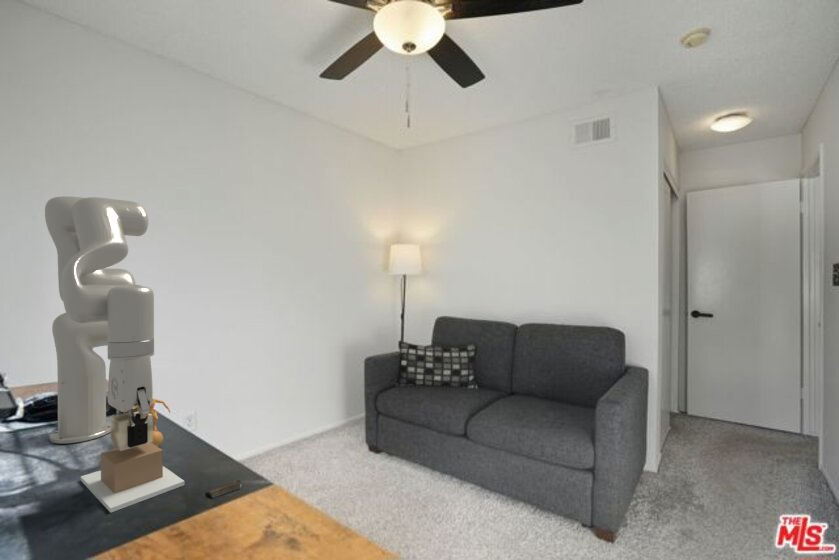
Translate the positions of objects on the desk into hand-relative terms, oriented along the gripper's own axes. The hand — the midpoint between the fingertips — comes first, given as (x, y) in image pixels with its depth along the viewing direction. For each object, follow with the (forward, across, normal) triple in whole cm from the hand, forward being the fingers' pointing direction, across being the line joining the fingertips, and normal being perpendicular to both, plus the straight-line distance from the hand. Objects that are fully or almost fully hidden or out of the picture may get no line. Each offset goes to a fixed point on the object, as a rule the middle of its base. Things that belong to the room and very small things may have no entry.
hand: (132, 440), depth 82 cm
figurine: (+9, -16, +9) cm, 20 cm away
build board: (+8, 0, 0) cm, 8 cm away
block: (+9, +17, +10) cm, 22 cm away
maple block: (+1, 0, 0) cm, 1 cm away
